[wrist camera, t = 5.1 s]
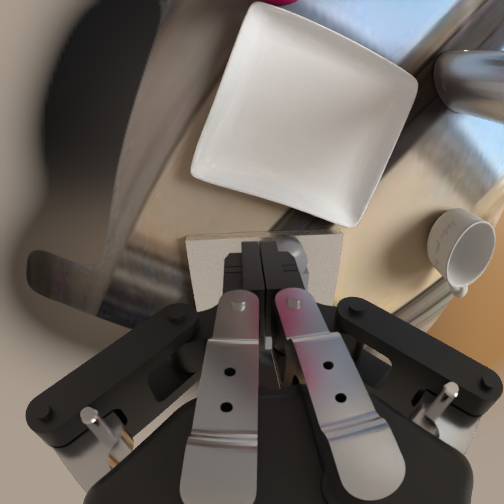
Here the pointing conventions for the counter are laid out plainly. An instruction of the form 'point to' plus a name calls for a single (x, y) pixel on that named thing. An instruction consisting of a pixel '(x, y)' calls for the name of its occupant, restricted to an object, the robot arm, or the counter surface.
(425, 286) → the counter surface
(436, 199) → the counter surface
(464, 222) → the teacup
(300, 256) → the swing bar
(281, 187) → the salad plate
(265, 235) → the panel
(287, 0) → the pepper mill
